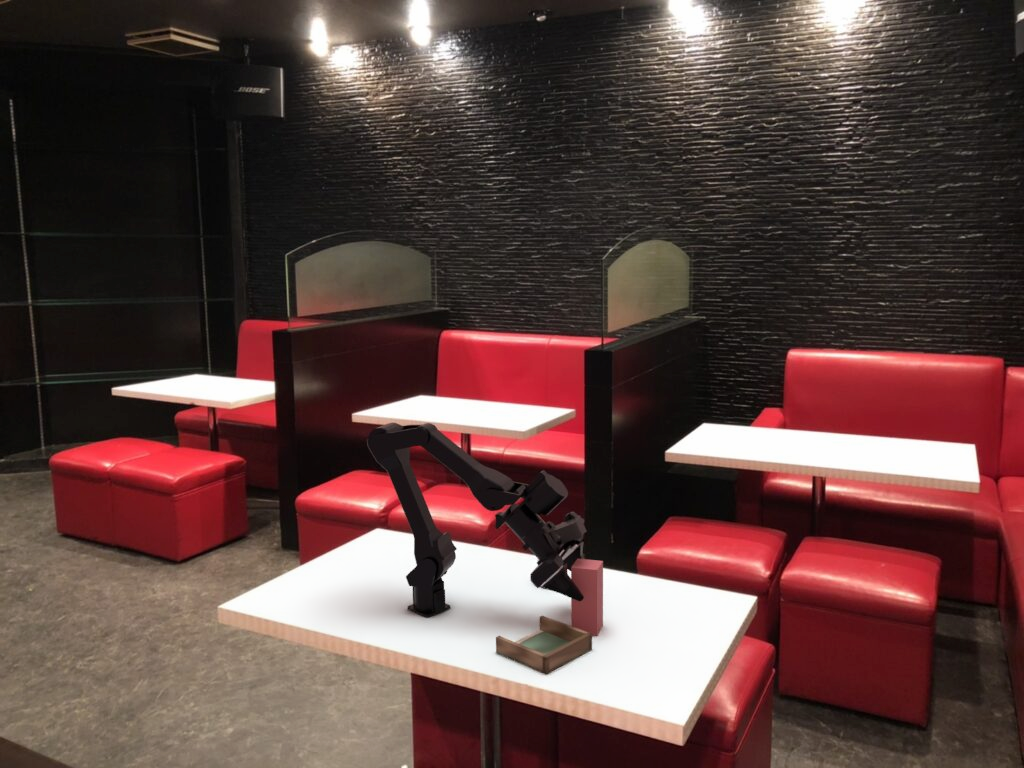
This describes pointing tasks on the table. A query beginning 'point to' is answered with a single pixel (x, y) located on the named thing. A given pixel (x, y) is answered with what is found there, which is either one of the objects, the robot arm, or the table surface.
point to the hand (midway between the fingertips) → (588, 590)
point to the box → (547, 646)
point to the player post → (588, 596)
